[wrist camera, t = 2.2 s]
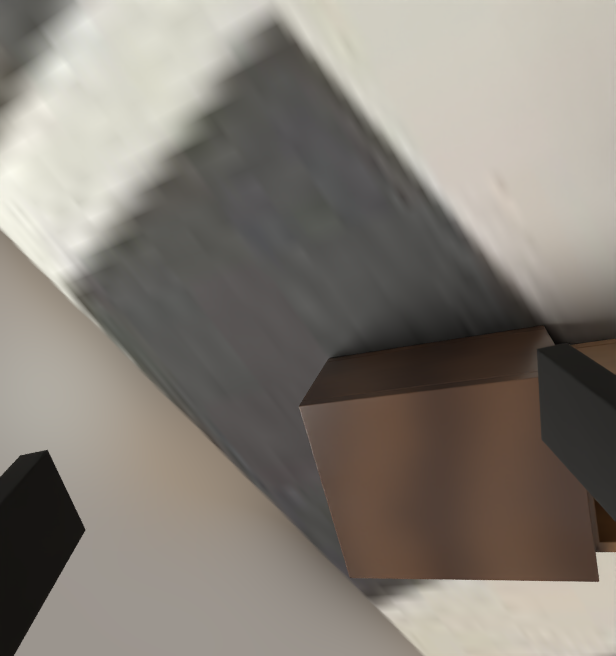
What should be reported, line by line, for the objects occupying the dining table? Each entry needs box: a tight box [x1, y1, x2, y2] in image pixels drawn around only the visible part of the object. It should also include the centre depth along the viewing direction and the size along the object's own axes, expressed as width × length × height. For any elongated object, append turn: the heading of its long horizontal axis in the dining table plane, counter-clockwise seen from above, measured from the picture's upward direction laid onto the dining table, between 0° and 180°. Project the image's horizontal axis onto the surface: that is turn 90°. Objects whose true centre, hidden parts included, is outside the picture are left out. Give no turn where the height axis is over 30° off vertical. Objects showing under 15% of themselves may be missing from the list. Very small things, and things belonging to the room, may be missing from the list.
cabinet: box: [299, 325, 599, 582], centre depth 34 cm, size 17×15×9 cm
